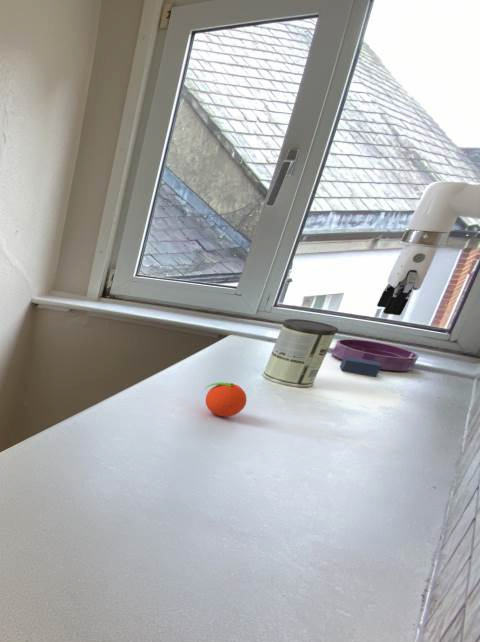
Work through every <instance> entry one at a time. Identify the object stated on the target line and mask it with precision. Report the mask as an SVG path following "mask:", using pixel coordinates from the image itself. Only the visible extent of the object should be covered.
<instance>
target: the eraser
mask: <svg viewBox="0 0 480 642" xmlns="http://www.w3.org/2000/svg"><path fill="white" fill-rule="evenodd" d="M339 368H340V371H341V372H345V373H346V372H347V373H351V374H356V375H362V376H367V377H373V378H377V376H378V374H379V372H380V371H381V370H380V368H381V365H380V363H379V362H377V361H371V360H365V359H359V358H353V357H347V356H345V357H344V359H343V360H341V362H340V365H339Z"/></svg>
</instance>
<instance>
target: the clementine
mask: <svg viewBox="0 0 480 642" xmlns="http://www.w3.org/2000/svg"><path fill="white" fill-rule="evenodd" d="M211 386H213V387H211ZM209 387H211V388H210V390H208V392H207V393H206V395H205V406H206V408H207V410H209V411H210V412H211V413H212V414H213V415H215V416H219V417H225V418H228V417H232V416H235V415H237V414H239V413H240V412H241V411H243V410H244V408H245V407H246V405H247V400H248V399H247V394H246V392H245V391H244V390H243V388H241V387H240V386H239V385H238V384H235V383H231V382H215V383H211V384H208V385H207V386H205V389H207V388H209Z"/></svg>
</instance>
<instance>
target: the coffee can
mask: <svg viewBox="0 0 480 642" xmlns="http://www.w3.org/2000/svg"><path fill="white" fill-rule="evenodd" d="M338 330H339V328H338V327H336V326H334V325H332V324H328V323H325V322H320V321H315V320H309V319H299V318H287V319H284V320H283V323H282V326H281V329H280V332H279V333H278V336H277V338H276V341H275V342H274V343H275V344H274V346H273V348H272V351H271V353H270V356H269V358H268V361H267V363H266V366H265V368H264V371H263V372H262V377H263V378H264V379H266V380H268V381H271V382H273V383H277V384H280V385H283V386H284V385H285V386H288V387H289V386H290V387H296V388H311V387H312V386H313V385H314V382H315V380H316V377H317V375H318V373H319V371H320V369H321V367H322V364H323V362H324V360H325V357H326V355H327V354H328V351H329V349H330V346H331V344H332V343H333V340H334V338H335V335H336V334H337V333H338Z"/></svg>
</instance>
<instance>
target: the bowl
mask: <svg viewBox="0 0 480 642" xmlns="http://www.w3.org/2000/svg"><path fill="white" fill-rule="evenodd" d="M330 352H331V355H333V356H334V357H336V358H337V359H339V360H340V361H343V359H344V357H345V356H347V357H353V358H359V359H365V360H371V361H377V362H379V363H380V365H381V368H380V370H379V371H387V372H403V371H404V372H405V371H406V372H407V371H412V370H413V368H414V367H415V365H416V363H417V361H418V359H419V358H420V355H419V354H418V353H416V352H414V351H412V350H409V349H406V348H403V347H400V346H396V345H392V344H387V343H384V342H377V341H371V340H365V339H355V338H342V339H341V338H340V339H337V340H336V341H335V343H334V345H333V347H332V350H331V351H330Z"/></svg>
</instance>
